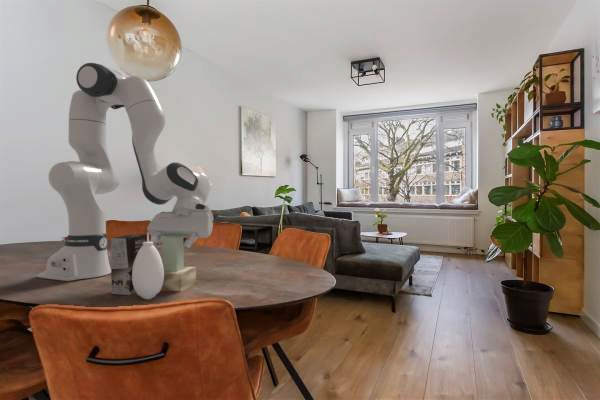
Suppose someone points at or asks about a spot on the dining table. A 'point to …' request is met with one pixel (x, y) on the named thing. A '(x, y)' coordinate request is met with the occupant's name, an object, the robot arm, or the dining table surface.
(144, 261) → the white air blower bulb
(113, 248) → the coffee box
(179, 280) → the base block
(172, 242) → the sage post
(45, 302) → the dining table surface
